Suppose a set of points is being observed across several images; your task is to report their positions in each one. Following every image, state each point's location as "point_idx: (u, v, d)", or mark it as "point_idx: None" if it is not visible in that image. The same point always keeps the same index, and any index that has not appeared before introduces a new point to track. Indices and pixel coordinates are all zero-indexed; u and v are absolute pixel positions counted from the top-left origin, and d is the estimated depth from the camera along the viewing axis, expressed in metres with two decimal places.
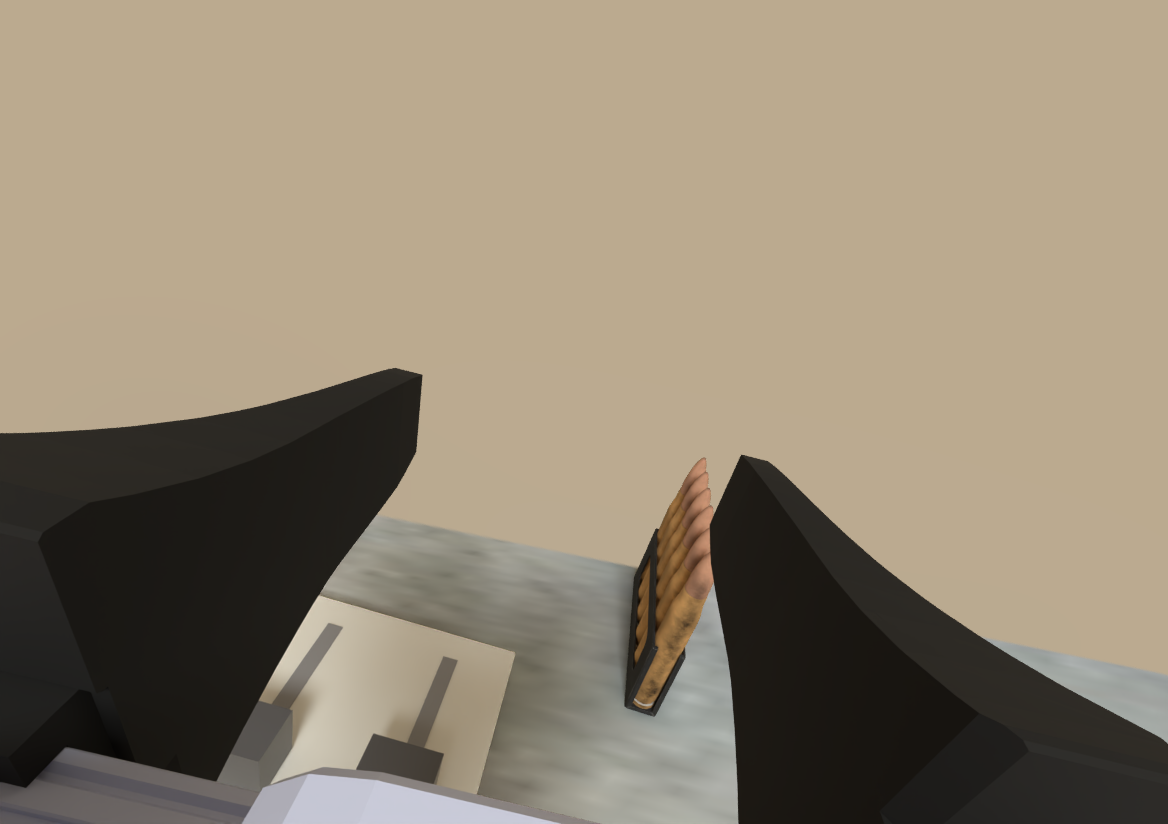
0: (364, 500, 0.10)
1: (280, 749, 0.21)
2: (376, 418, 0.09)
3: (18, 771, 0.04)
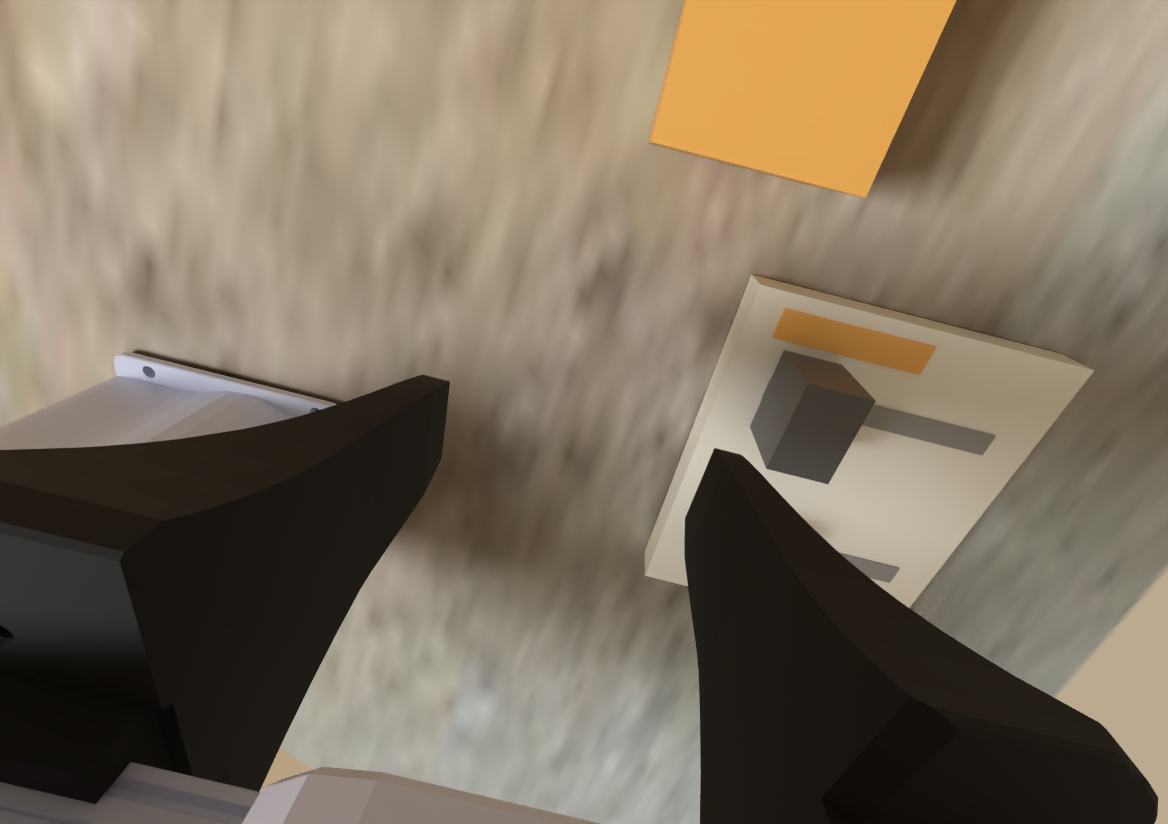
0: (395, 508, 0.10)
1: None
2: (409, 426, 0.09)
3: (88, 787, 0.04)
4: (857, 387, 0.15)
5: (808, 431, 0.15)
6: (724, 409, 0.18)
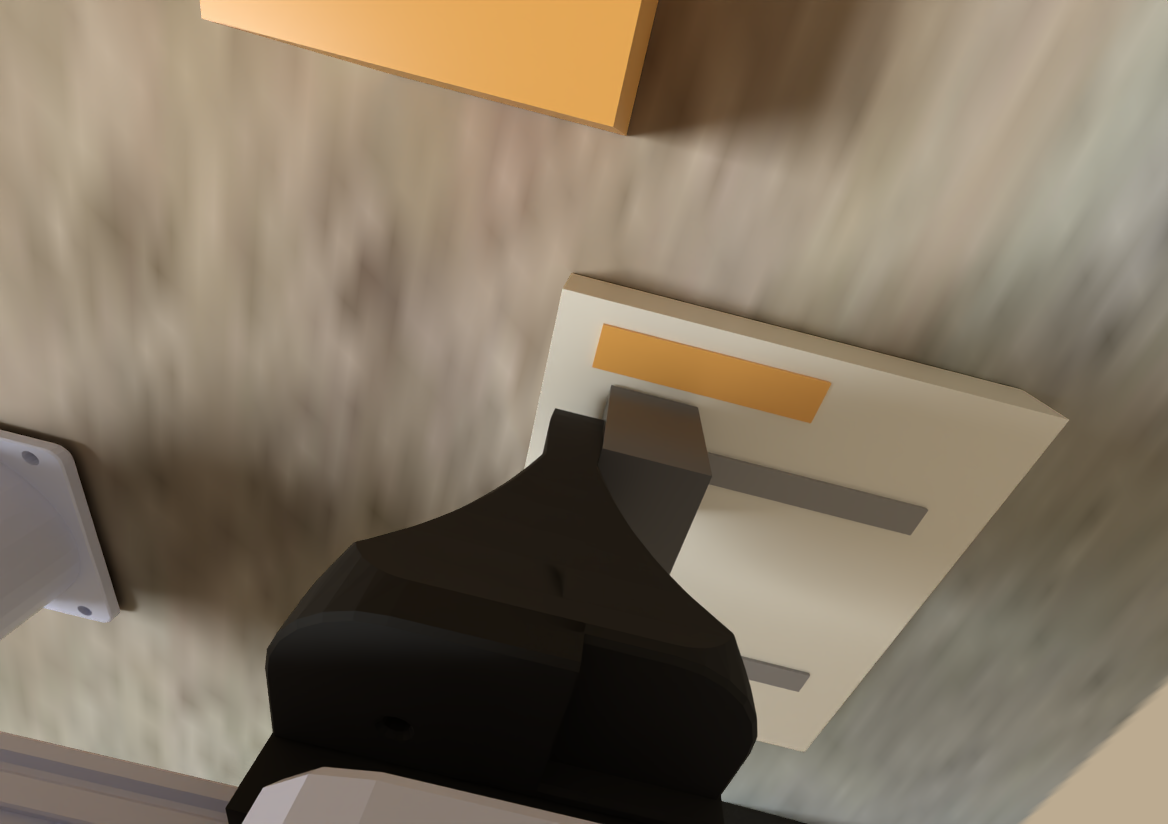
0: None
1: None
2: None
3: None
4: (694, 449, 0.10)
5: None
6: None
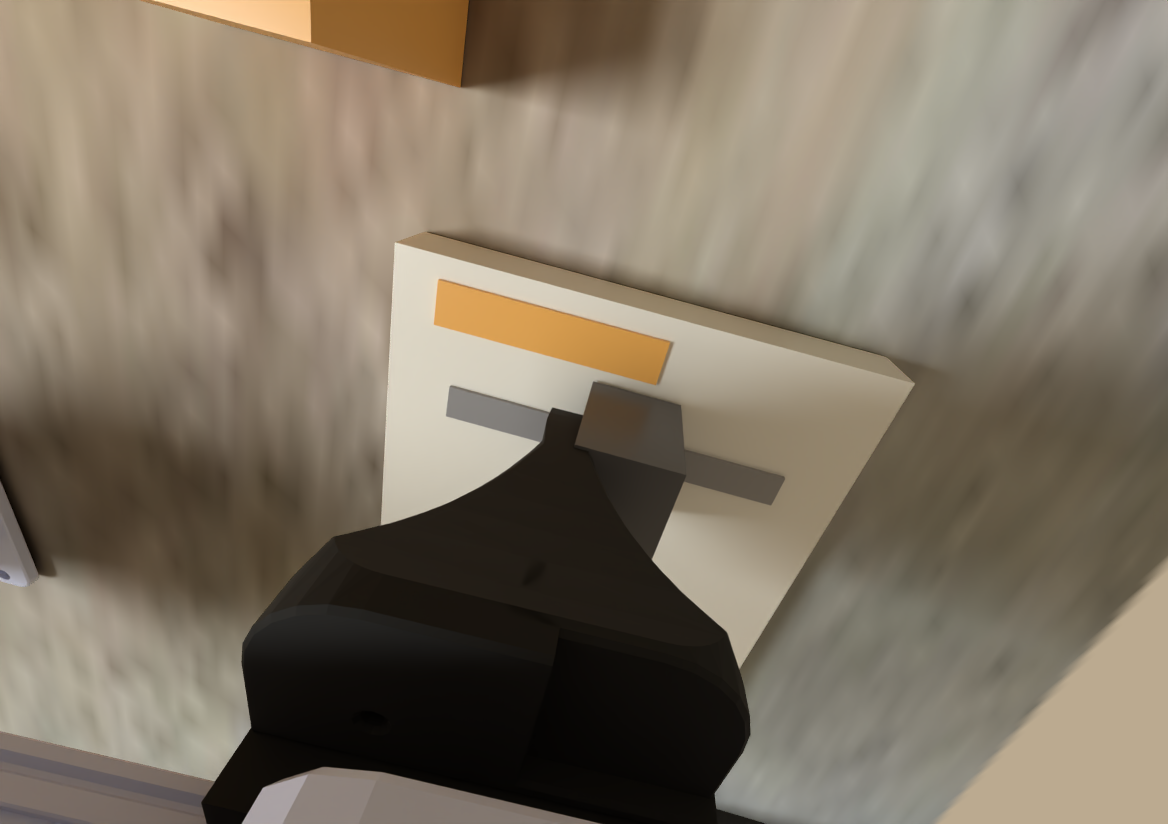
0: None
1: None
2: None
3: None
4: (672, 447, 0.09)
5: None
6: (403, 428, 0.13)
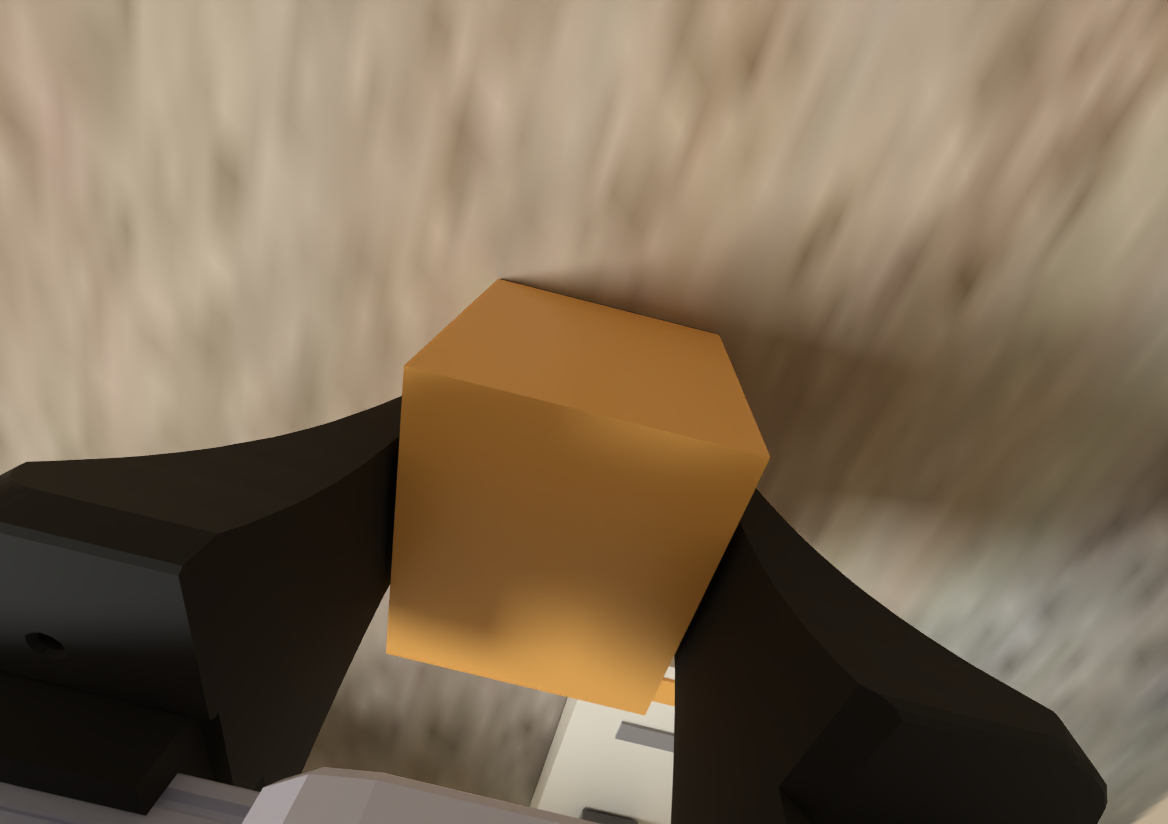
0: None
1: None
2: None
3: (140, 799, 0.04)
4: None
5: None
6: (577, 740, 0.16)
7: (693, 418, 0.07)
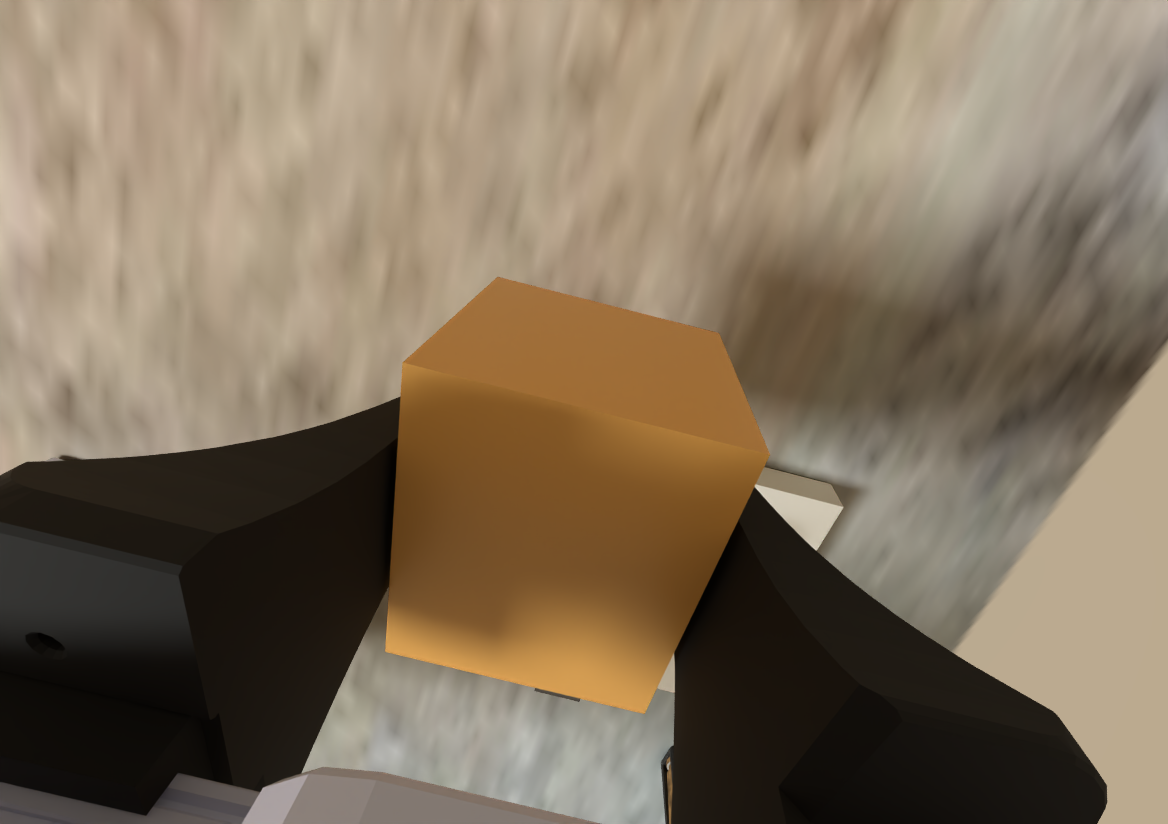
0: None
1: None
2: None
3: (140, 799, 0.04)
4: None
5: None
6: None
7: (692, 415, 0.07)
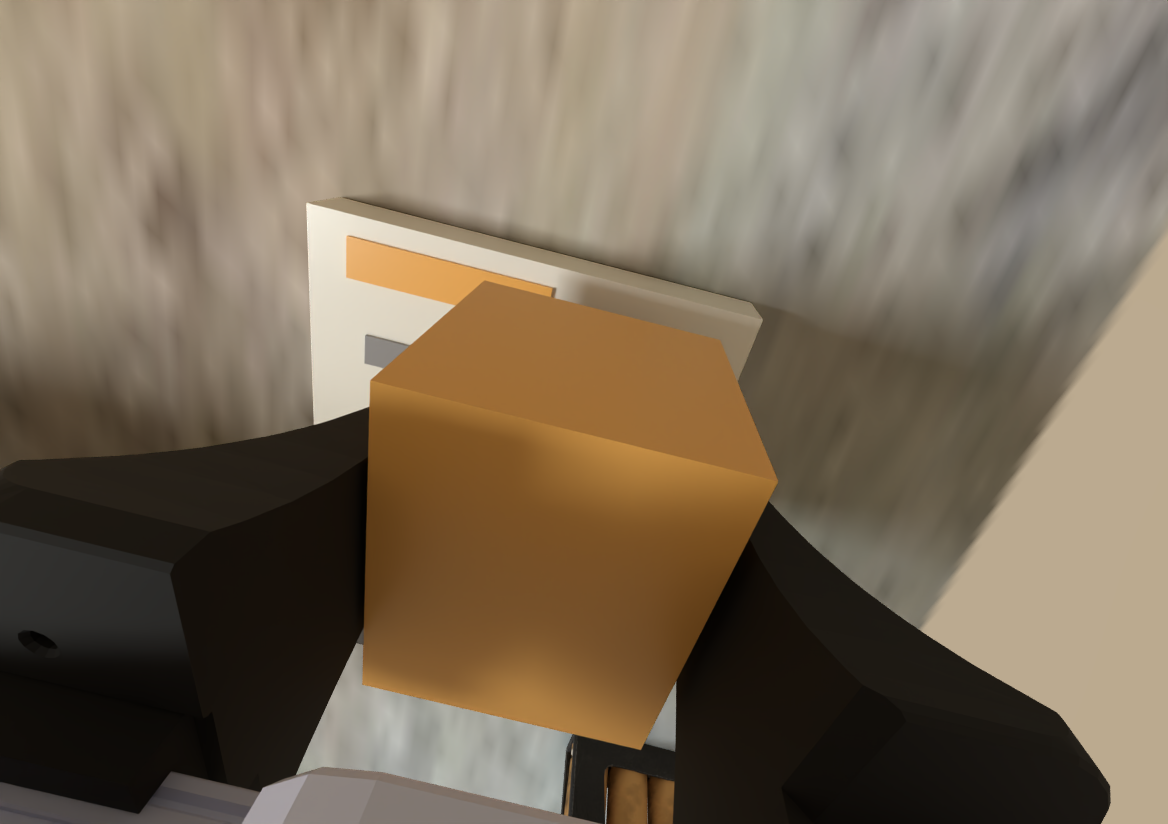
0: None
1: None
2: None
3: (132, 798, 0.04)
4: None
5: None
6: (328, 376, 0.14)
7: (692, 436, 0.07)
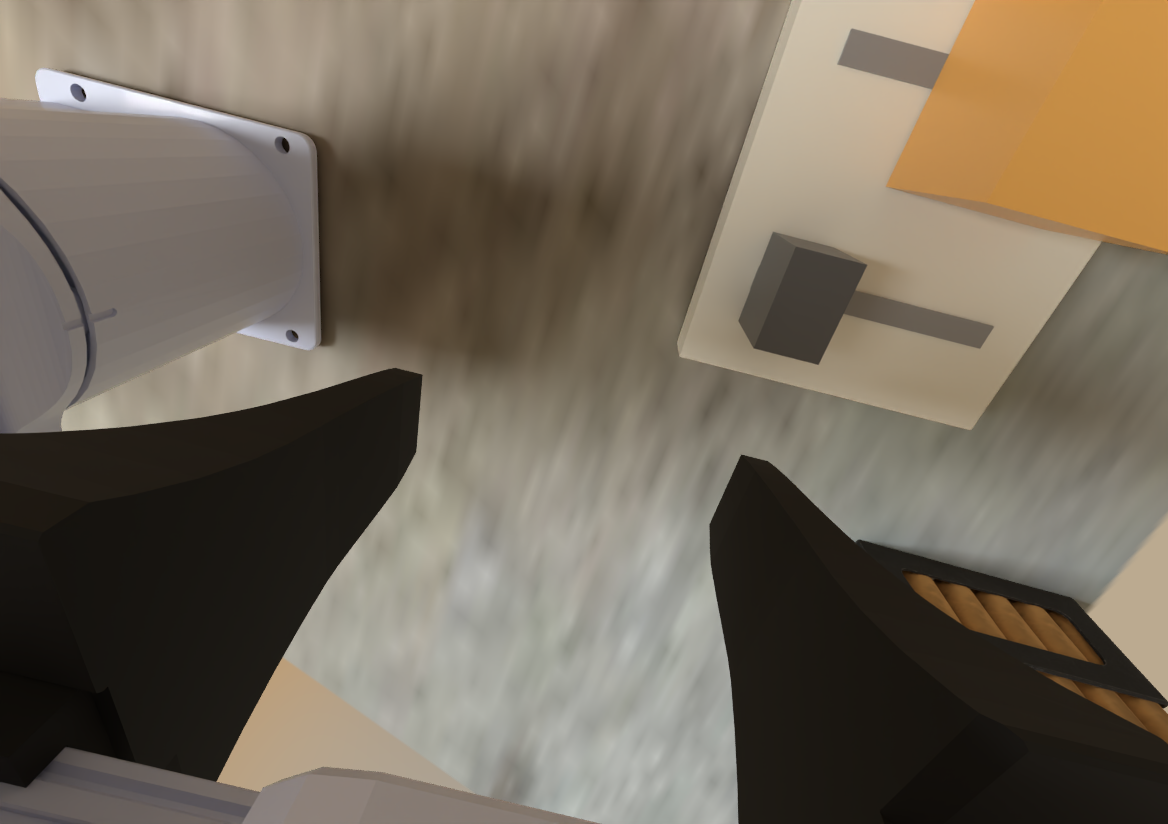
0: (364, 499, 0.10)
1: None
2: (376, 418, 0.09)
3: (18, 771, 0.04)
4: None
5: None
6: (789, 85, 0.14)
7: None
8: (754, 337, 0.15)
